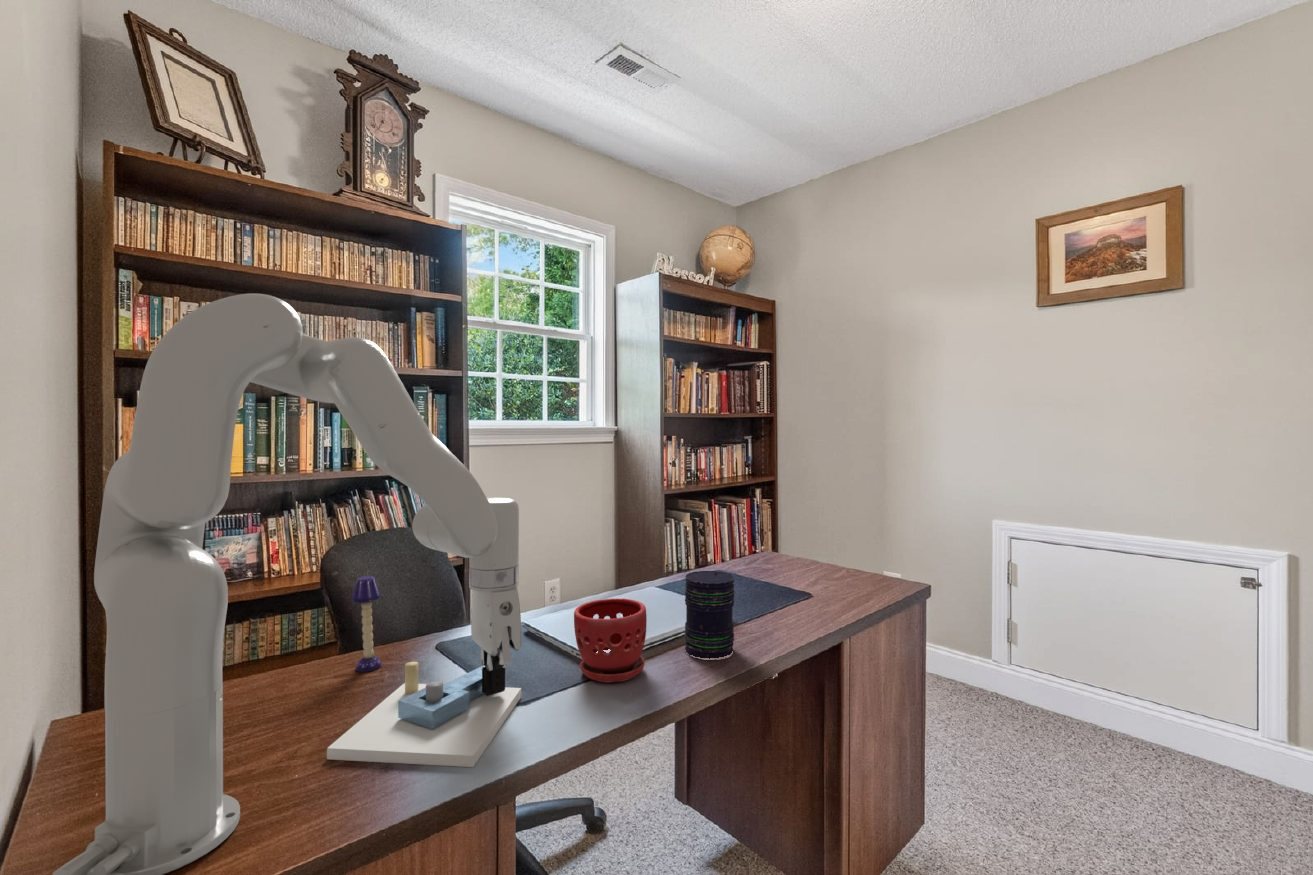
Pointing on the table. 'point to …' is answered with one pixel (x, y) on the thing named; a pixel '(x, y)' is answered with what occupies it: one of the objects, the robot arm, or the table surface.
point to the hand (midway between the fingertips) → (493, 691)
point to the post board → (425, 729)
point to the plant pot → (611, 639)
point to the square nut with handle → (442, 701)
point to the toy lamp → (367, 620)
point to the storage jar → (709, 614)
